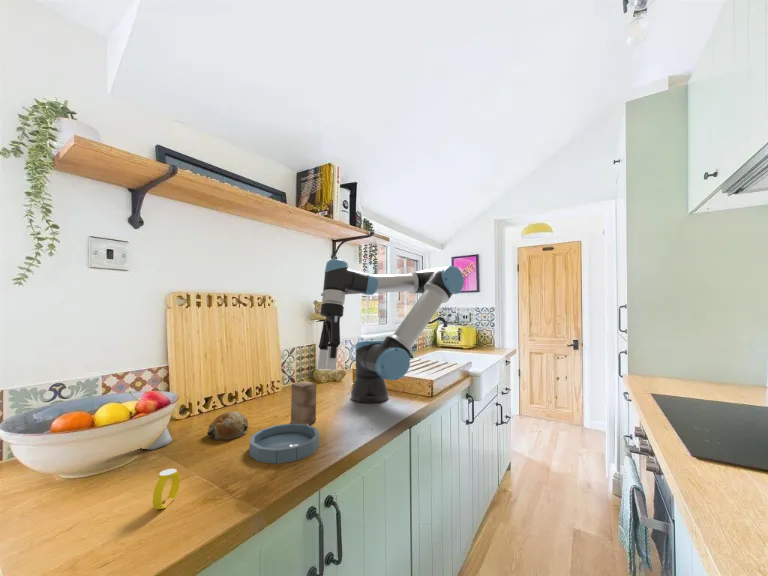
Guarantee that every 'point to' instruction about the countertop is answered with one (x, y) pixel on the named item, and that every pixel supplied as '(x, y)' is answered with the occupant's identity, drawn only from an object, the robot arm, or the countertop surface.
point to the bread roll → (228, 426)
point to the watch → (160, 486)
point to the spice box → (303, 403)
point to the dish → (284, 443)
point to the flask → (161, 440)
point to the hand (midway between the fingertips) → (326, 369)
